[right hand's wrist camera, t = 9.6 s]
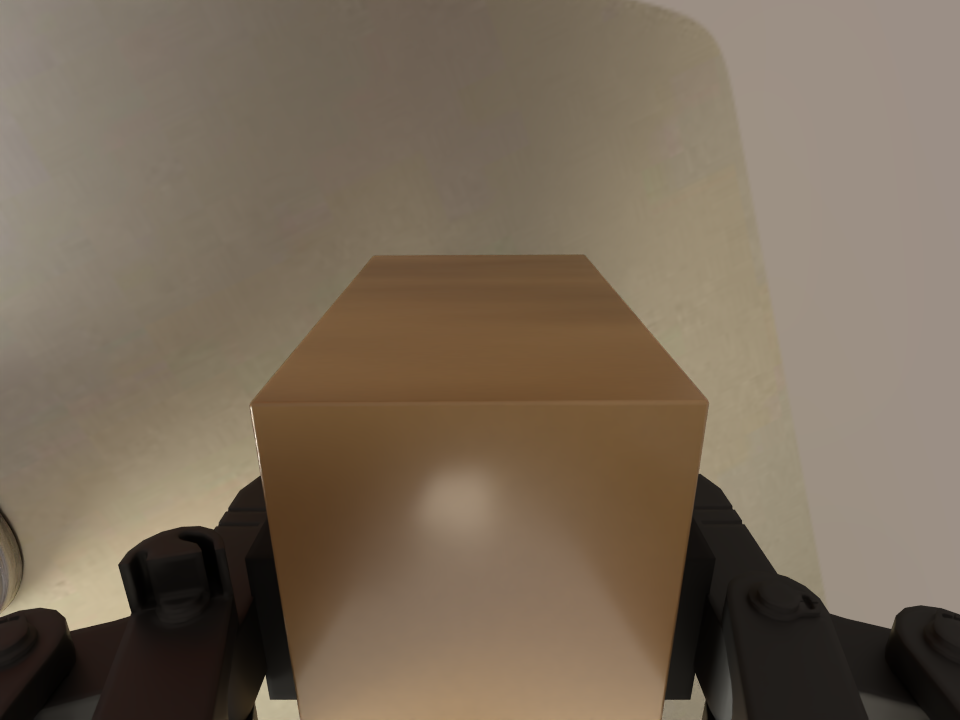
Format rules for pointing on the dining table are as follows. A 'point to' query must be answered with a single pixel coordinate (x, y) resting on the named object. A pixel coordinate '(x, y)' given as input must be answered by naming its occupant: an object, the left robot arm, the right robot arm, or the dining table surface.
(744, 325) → the dining table surface
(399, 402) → the beam
